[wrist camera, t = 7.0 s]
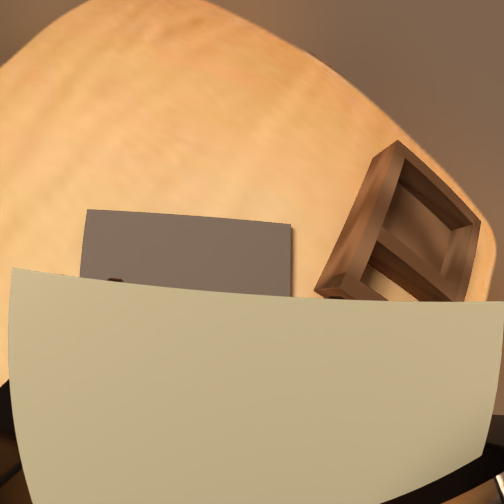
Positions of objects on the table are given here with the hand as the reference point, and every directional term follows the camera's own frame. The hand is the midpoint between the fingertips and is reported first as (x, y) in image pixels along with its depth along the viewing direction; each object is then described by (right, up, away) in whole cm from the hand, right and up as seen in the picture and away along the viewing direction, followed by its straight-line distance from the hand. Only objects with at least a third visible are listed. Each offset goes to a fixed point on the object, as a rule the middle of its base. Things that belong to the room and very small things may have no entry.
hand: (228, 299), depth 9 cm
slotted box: (+14, +1, +17) cm, 22 cm away
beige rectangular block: (-2, -2, +6) cm, 7 cm away
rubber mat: (-4, -4, +12) cm, 13 cm away
